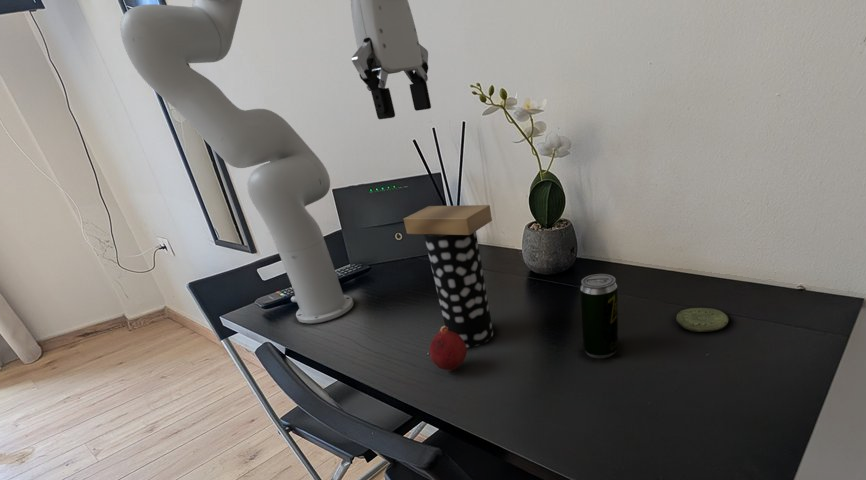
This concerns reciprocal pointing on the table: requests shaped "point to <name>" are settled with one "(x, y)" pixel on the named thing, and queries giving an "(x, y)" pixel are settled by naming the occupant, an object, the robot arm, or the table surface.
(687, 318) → the medallion
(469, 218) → the flat wooden block
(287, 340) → the table surface
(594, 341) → the beer can
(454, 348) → the red pomegranate
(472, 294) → the spotted tube
